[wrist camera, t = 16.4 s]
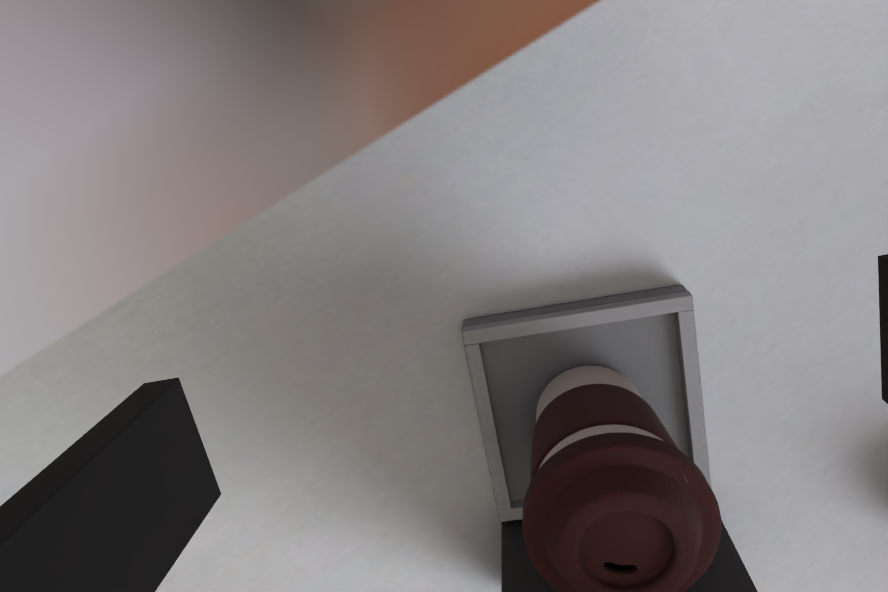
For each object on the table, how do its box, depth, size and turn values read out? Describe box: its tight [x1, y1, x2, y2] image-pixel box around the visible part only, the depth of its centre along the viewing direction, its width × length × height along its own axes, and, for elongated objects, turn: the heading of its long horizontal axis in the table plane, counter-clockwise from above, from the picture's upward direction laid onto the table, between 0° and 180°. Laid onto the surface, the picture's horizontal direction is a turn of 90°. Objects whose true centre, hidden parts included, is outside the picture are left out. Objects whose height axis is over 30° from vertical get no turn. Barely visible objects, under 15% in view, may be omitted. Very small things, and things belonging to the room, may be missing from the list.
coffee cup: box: [522, 366, 721, 592], centre depth 40 cm, size 10×10×15 cm
